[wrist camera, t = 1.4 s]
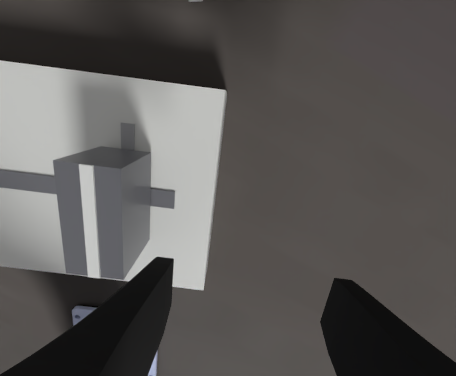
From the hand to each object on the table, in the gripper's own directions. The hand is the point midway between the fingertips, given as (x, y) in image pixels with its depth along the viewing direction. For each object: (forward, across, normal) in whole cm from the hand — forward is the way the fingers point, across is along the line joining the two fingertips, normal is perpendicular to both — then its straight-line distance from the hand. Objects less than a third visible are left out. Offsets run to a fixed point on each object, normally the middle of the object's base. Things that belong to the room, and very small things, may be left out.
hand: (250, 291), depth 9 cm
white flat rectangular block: (+10, +14, 0) cm, 18 cm away
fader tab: (+7, +7, 0) cm, 10 cm away
